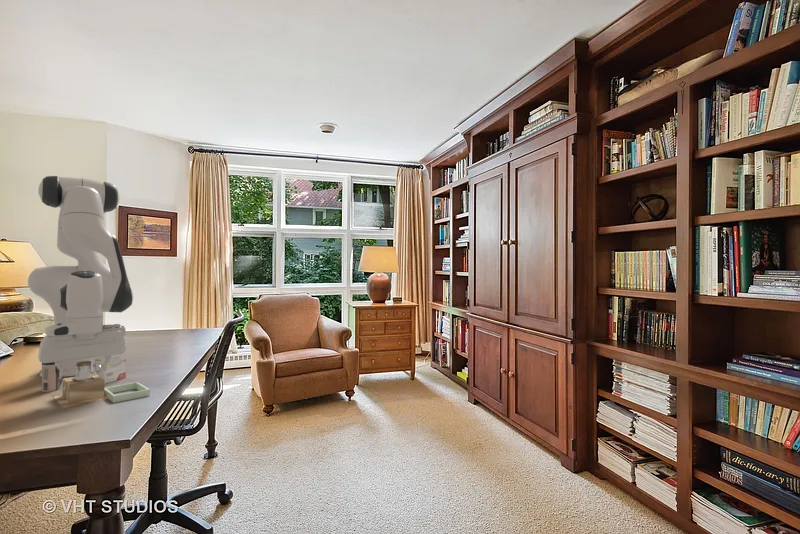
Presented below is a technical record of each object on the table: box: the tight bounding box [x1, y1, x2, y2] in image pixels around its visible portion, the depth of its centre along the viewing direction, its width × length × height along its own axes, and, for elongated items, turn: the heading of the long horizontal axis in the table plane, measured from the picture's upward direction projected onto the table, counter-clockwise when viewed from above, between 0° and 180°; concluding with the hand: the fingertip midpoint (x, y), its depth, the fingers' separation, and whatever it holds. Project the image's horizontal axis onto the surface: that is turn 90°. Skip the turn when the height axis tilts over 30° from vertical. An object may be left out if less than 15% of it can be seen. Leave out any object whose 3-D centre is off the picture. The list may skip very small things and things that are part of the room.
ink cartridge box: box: [92, 337, 127, 385], centre depth 139 cm, size 9×5×15 cm, turn 168°
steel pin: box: [75, 361, 92, 382], centre depth 122 cm, size 4×4×10 cm
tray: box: [104, 381, 151, 403], centre depth 124 cm, size 11×9×3 cm
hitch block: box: [51, 373, 109, 409], centre depth 122 cm, size 16×12×6 cm
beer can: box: [41, 362, 63, 393], centre depth 128 cm, size 5×5×12 cm
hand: (83, 373), depth 122 cm, fingers open, 8 cm apart
